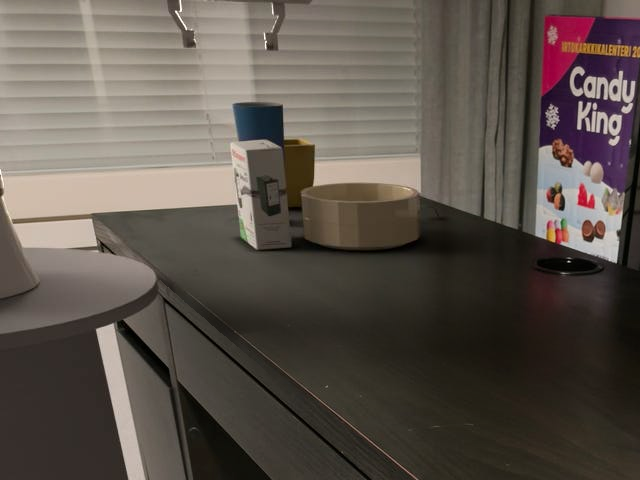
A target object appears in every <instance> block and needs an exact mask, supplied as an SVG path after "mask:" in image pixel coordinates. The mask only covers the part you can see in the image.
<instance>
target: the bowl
mask: <svg viewBox="0 0 640 480" xmlns="http://www.w3.org/2000/svg"><path fill="white" fill-rule="evenodd" d="M300 195H301V206H302V207H301V217H302V228H303V229H302V230H303V237H304V239H305V240H307V241H308V242H311V243H314V244H317V245H320V246H322V247H325V248H329V249H336V250H345V251H377V250H388V249H394V248H398V247H402V246H405V245H406V244H409V243H412V242H414V241H416V240H418V239H419V238H420V237H421V215H420V214H421V213H420V210H421V206H420V205H421V203H420V192H419V190H418V189H416V188H413V187H411V186H406V185H401V184H393V183H381V182H337V183H327V184H317V185H313V186H312V187H309V188H305V189H304V190H302V191H301V192H300Z"/></svg>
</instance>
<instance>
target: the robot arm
mask: <svg viewBox="0 0 640 480" xmlns="http://www.w3.org/2000/svg"><path fill="white" fill-rule="evenodd" d="M202 1H206V2H207V1H208V2H228V3H230V2H231V3H253V4H254V3H255V4H271V11H272V15H273V16H276V19H275V21H274V23H273V26H272V29H271V31H270V32H263V37H264V40H265V42H264V47H265V48H264V49H265V51H269V52H270V51H271V52H279V41H278V40H279V39H278V33H279V32H280V29H281V28H282V24H283V23H284V20H285V18H286V5H298V6H299V5H300V6H309V5H310V4H311V3H312V2H313V0H202ZM166 2H167V3H166V4H167V11H168V13H169V15H170V16H171V18H172V19H173V21H174V23H175V24H176V26H177V28H178V30H180V36H181V43H182V48H183V49H197V41H196V39H195V37H196V33H195V29H187V26H186V25H185V23H184V22H183V20H182V18H181V17H180V15H179V13H178V12H182V11H183V10H182V0H166ZM3 178H4V177H3V174H2V169H1V168H0V299H2V298H6V297H10V296H14V295H17V294H20V293H23V292H26V291H28V290H30V289H32V288H34V287H36V286H37V285H38V284H39V282H40V280H39V278H38V276H37V274H36V273H35V271H34V269H33V267H32V265H31V264H30V262H29V260H28V258H27V256H26V253H25V251H24V249H23V245H22V242H21V241H20V238H19V235H18V233H17V231H16V228H15V224H14V223H13V220H12V218H11V215H10V212H9V209H8V205H7V204H6V200H5V197H4V194H5V189H4V188H5V183H4V179H3Z"/></svg>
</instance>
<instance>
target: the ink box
mask: <svg viewBox="0 0 640 480" xmlns="http://www.w3.org/2000/svg"><path fill="white" fill-rule="evenodd" d="M229 147H230V154H231V163H232V171H233V172H232V173H233V179H234V188H235V189H234V190H235V194H236V195H235V197H236V206H237V215H238V223H239V232H240V233H239V234H240V238H241V239H242V240H244V241H245V242H246V243H248V244H249V245H250V246H251V247H252V248H254V249H255V250H257V251H261V250H263V251H264V250H273V249H274V250H275V249H284V248H285V249H286V248H288V249H289V248H292V245H293V244H292V235H291V233H292V232H291V226H290V214H289V207H288V203H287V192H286V181H285V170H284V159H283V150H282V148H281V147H280V146H278V145H276V144H274V143H272V142H270V141H268V140H253V141H242V142H239V141H230V144H229Z"/></svg>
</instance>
